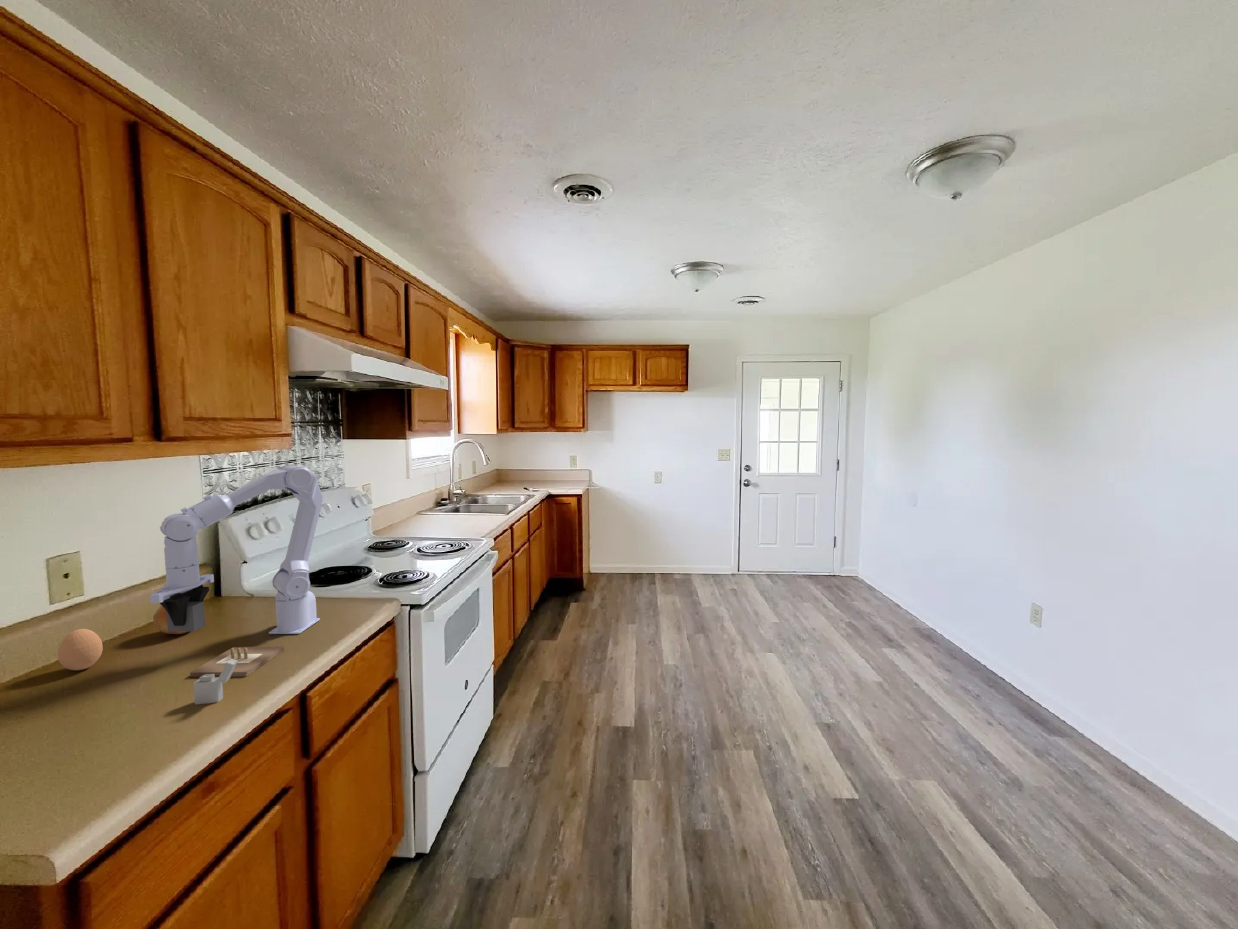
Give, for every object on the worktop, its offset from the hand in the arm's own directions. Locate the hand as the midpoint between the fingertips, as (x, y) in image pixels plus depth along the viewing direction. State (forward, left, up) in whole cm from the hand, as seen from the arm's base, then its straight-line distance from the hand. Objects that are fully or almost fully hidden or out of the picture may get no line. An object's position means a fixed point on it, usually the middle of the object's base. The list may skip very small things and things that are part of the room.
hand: (186, 622), depth 111 cm
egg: (+5, -19, -9) cm, 22 cm away
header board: (+3, +14, -9) cm, 17 cm away
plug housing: (0, 0, -2) cm, 2 cm away
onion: (-14, -14, -9) cm, 22 cm away
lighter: (+18, +21, -9) cm, 29 cm away
